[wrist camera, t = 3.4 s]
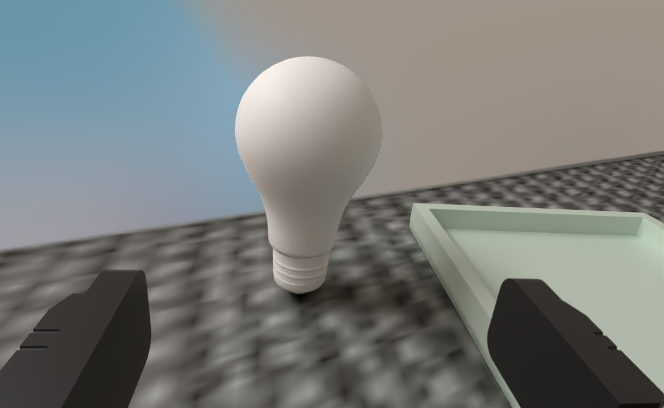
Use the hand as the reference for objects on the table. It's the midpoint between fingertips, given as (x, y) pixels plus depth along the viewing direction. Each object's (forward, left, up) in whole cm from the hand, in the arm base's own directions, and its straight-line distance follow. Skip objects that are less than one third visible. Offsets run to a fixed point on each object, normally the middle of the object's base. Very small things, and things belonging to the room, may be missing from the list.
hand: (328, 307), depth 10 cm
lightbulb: (0, -10, -7) cm, 12 cm away
